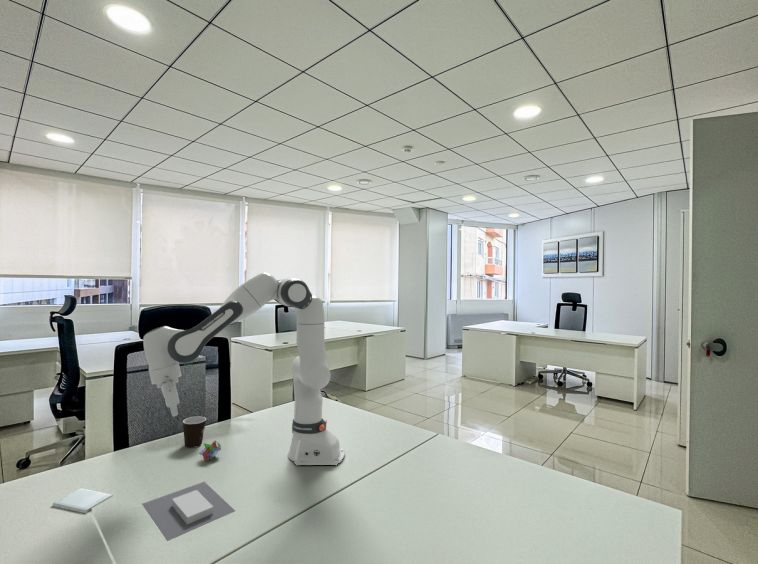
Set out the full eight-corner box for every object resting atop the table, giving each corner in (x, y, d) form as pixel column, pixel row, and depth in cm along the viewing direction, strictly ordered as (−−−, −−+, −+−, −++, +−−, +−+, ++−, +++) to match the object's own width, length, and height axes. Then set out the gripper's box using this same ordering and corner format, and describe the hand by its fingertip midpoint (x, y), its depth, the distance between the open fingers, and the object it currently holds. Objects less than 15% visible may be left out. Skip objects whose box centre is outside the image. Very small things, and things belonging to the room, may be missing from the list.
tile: (172, 498, 106) (187, 517, 98) (196, 489, 111) (213, 506, 103) (171, 506, 106) (187, 525, 98) (196, 496, 111) (213, 514, 103)
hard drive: (52, 502, 105) (86, 509, 102) (81, 487, 113) (113, 493, 110) (52, 508, 105) (86, 515, 102) (80, 492, 113) (113, 499, 110)
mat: (141, 505, 107) (142, 503, 107) (204, 483, 120) (204, 481, 120) (167, 543, 92) (167, 540, 92) (235, 512, 105) (235, 510, 105)
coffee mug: (195, 450, 144) (196, 425, 144) (176, 447, 145) (177, 422, 146) (214, 438, 155) (215, 415, 155) (196, 436, 157) (197, 413, 157)
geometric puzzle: (206, 461, 130) (217, 439, 135) (191, 458, 132) (202, 436, 137) (217, 466, 136) (227, 444, 140) (203, 463, 138) (213, 441, 143)
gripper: (178, 374, 114) (188, 416, 114) (175, 370, 131) (183, 407, 131) (155, 381, 110) (165, 424, 110) (155, 376, 127) (163, 414, 127)
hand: (175, 415), depth 120 cm, fingers closed
